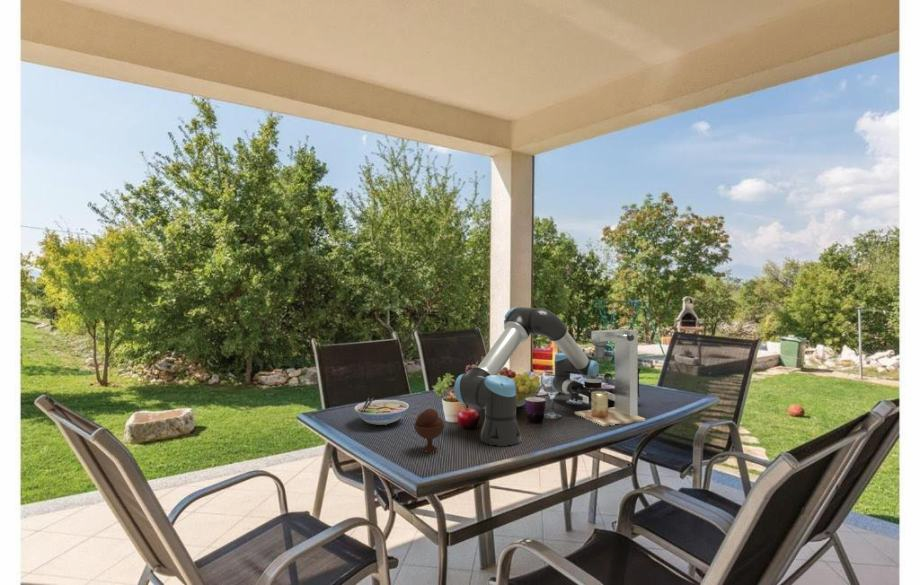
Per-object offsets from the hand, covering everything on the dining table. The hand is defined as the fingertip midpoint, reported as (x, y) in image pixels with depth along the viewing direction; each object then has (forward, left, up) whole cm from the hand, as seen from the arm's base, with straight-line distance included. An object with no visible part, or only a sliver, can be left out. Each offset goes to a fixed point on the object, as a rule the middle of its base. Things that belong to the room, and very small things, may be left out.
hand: (601, 399), depth 201 cm
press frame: (+6, -3, -8) cm, 10 cm away
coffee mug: (+15, +29, -9) cm, 33 cm away
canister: (+28, +16, -9) cm, 33 cm away
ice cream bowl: (-80, -10, -9) cm, 81 cm away
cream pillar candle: (0, +1, -7) cm, 8 cm away
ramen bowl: (-90, +28, -9) cm, 95 cm away
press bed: (+5, +1, -9) cm, 10 cm away
